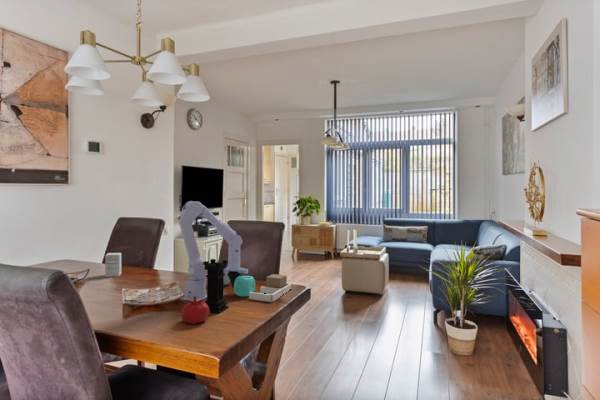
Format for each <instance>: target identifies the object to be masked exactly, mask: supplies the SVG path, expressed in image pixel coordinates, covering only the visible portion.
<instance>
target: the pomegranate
mask: <svg viewBox="0 0 600 400" xmlns="http://www.w3.org/2000/svg"><path fill="white" fill-rule="evenodd" d="M193 298H194V301H190V300H187V303H186V304H185V305H184V306H183V307H182V310H181V313H180V314H181V319H182V321H183V322H184V323H186V324H191V325H196V324H199V323H202V322H205V321H206V320H207V319H208V317H209V316H210V315H209V314H211V313H210V309H209V306H208V305H207V303H205V302H204V301H205V300H204V299H200V300H199V301H196V297H195V296H194V297H193Z"/></svg>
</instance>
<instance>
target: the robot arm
mask: <svg viewBox="0 0 600 400" xmlns="http://www.w3.org/2000/svg"><path fill="white" fill-rule="evenodd" d="M198 217H203V218H204V219H205V220H207V221H208V222H209V223H210V224H211V225H213V227H215V229H216V233H217V234H218V235H220V236H221V237H222V239H224V241H226V243H227V244H228V254H227V255H228V256H227V257H228V258H227V260H228V263H227V266H226V268H225V269H224V271H227V272H229V273H228V274H227V275H228V277H229V279H230V285H231V288H232V289H234V282H235V279H236V278H237V277H239V276H241V274H245V275H247V274H249V268H244V267H241V247H242V244H243V238H242V237H241V235H239V234H237V231H236V230H233V229H232V228H231V227H230V224H229V223H226V222H221V221H220V220H219V219H218V218H217V217H216V216H215V215H214V214H213V212H212V211H210V210H209V209H208V208H207V206H205V205H204V204H202V203H201V202H200V201H197V200H196V201H193V200H189V201H187V202H185V204H184V205H183V206H182V208H181V212H180V216H179V220H178V223H179V227H180V231H181V235H182V239H183V242H184V246H185V250H186V252H187V257H188V262H187V263H188V269H187V271H188V273H189V275H190V276H189V279H188V281H186V282H185V284H184V288H183V289H184V293H183V294H184V295H183V296H184V297H183V298H182V301H188V300H190V301H194V298H193V297H194V296H195V297H196V301H199V300H200V299H203V300H205V299H207V278H206V275H207V270H205V265H203V262H204V261H203V259H202V257H201V254H200V251H199V247H198V243H197V240H196V239H197V238H196V235H195V232H194V228H193V222H194V221H195V220H196V218H198ZM190 301H189V302H190Z"/></svg>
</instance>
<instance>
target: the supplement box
mask: <svg viewBox="0 0 600 400" xmlns="http://www.w3.org/2000/svg"><path fill="white" fill-rule="evenodd" d="M104 257H105V262H104V263H105V265H104V266H105V268H104V269H105V270H104V273H105V274H104V275H105V278H115V277H120V276H121V275H122V252H107V253H106V254H105V256H104Z"/></svg>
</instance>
